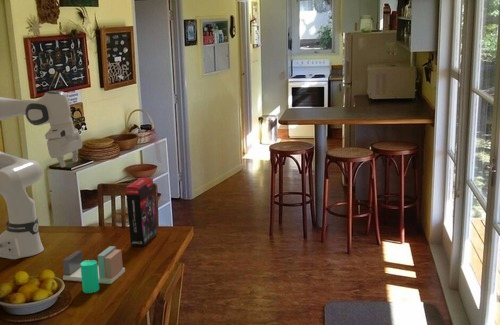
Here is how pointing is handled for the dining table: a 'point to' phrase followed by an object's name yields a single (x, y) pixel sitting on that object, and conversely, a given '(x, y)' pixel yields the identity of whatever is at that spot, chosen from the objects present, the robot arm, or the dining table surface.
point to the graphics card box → (141, 211)
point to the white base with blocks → (104, 267)
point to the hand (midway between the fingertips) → (69, 164)
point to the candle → (89, 276)
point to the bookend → (72, 262)
